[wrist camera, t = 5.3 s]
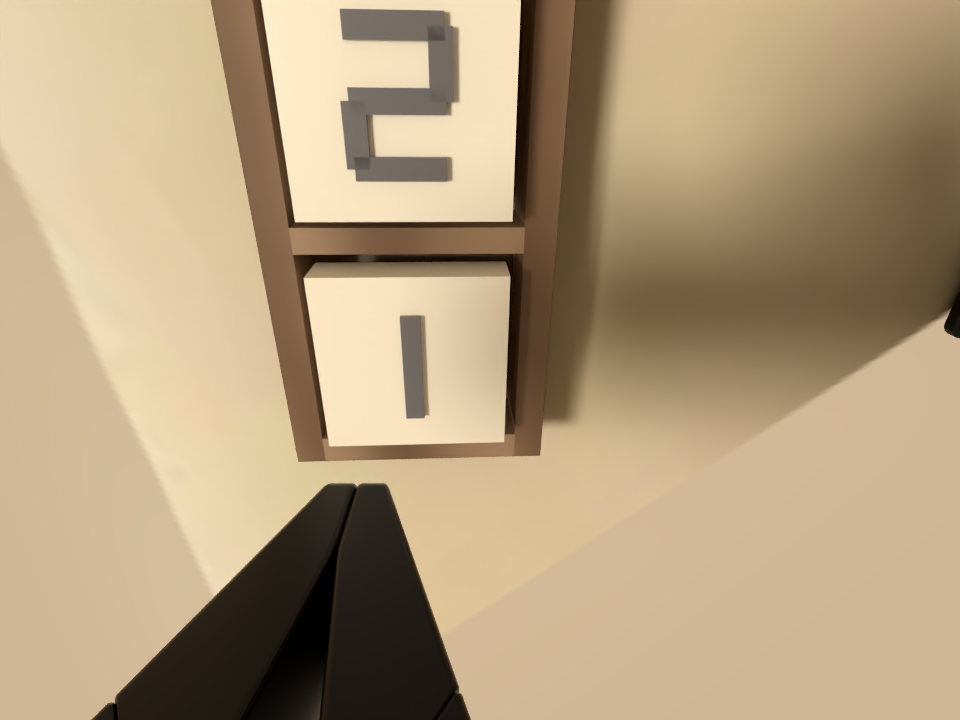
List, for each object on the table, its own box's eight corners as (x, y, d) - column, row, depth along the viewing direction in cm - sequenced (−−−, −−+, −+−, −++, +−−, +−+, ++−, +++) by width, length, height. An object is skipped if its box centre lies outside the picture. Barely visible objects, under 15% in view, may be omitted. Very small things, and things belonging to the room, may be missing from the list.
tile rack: (593, -544, 11) (630, -705, 9) (530, 418, 22) (540, 455, 20) (148, -577, 10) (67, -756, 8) (314, 423, 22) (298, 461, 19)
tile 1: (505, 261, 17) (511, 278, 15) (500, 418, 19) (504, 445, 18) (315, 262, 16) (301, 280, 15) (337, 421, 19) (328, 450, 18)
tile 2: (515, -32, 13) (523, -47, 12) (507, 210, 16) (513, 223, 14) (273, -37, 13) (249, -54, 11) (308, 210, 16) (292, 223, 14)
